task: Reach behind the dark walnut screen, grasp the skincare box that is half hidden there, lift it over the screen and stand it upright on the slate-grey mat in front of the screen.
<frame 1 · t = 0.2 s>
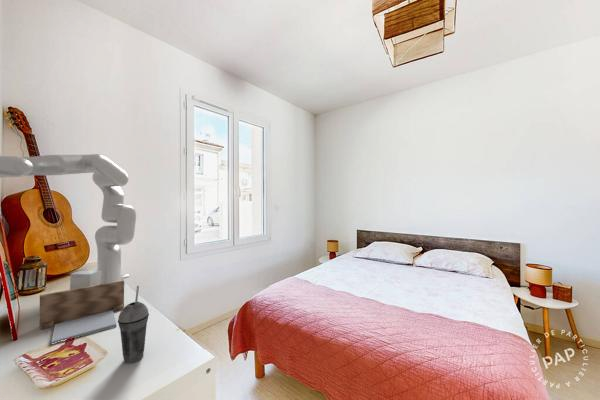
beverage cup: (133, 359, 68), on the table
skincare box: (85, 307, 100), on the table
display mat: (85, 326, 84), on the table
walnut screen: (85, 315, 93), on the table
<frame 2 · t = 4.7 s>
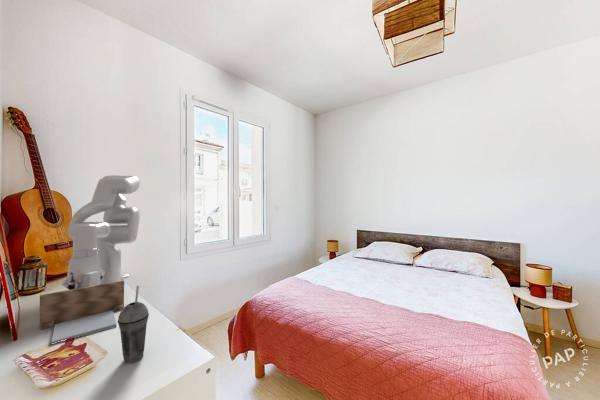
hand: (85, 295, 100), 5 cm above the table, tool pointing down, fingers closed on skincare box, 6 cm apart
skincare box: (85, 307, 100), on the table, touching gripper
everything else where it was.
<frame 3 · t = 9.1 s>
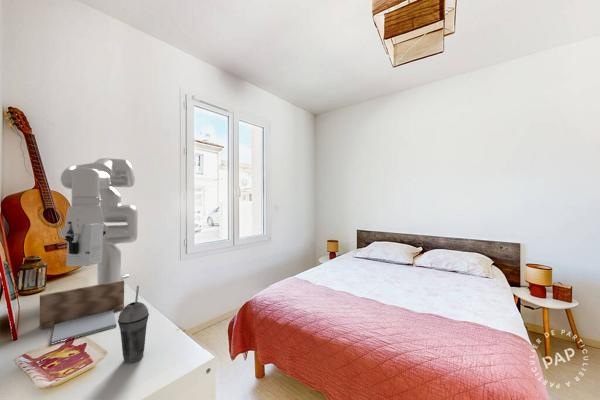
hand: (85, 251, 87), 26 cm above the table, tool pointing down, fingers closed on skincare box, 6 cm apart
skincare box: (85, 264, 87), point 21 cm above the table, touching gripper
everything else where it was.
when the fingers open (7 cm above the table, at t = 13.9 s): skincare box drops 1 cm, resting on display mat.
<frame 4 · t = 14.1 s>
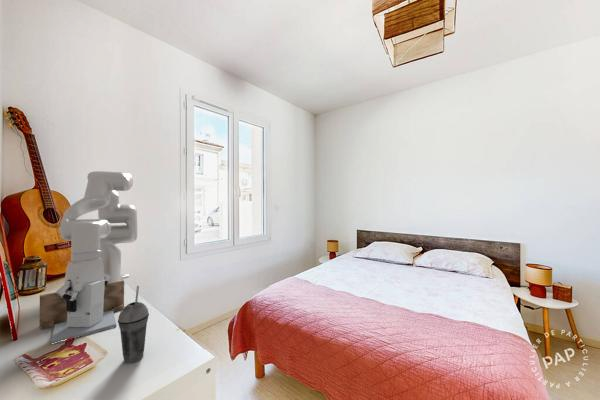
hand: (85, 305, 85), 7 cm above the table, tool pointing down, fingers open, 8 cm apart
skincare box: (86, 324, 85), point 1 cm above the table, touching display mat
everything else where it was.
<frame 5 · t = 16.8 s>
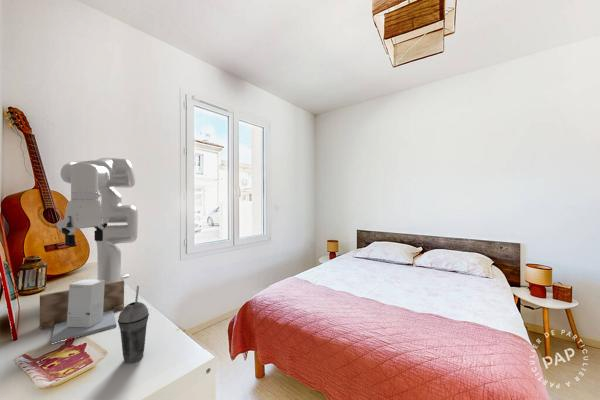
hand: (85, 243, 89), 29 cm above the table, tool pointing down, fingers open, 9 cm apart
nothing on the table moved.
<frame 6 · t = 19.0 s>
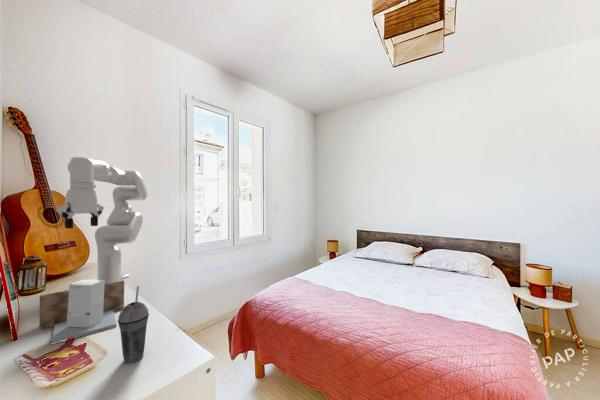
hand: (82, 227, 102), 33 cm above the table, tool pointing down, fingers open, 9 cm apart
nothing on the table moved.
at the end: skincare box inside the target area on the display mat (0.4 cm from its centre), point 0.8 cm above the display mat's base; skincare box tilted 0°; the gripper is holding nothing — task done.
